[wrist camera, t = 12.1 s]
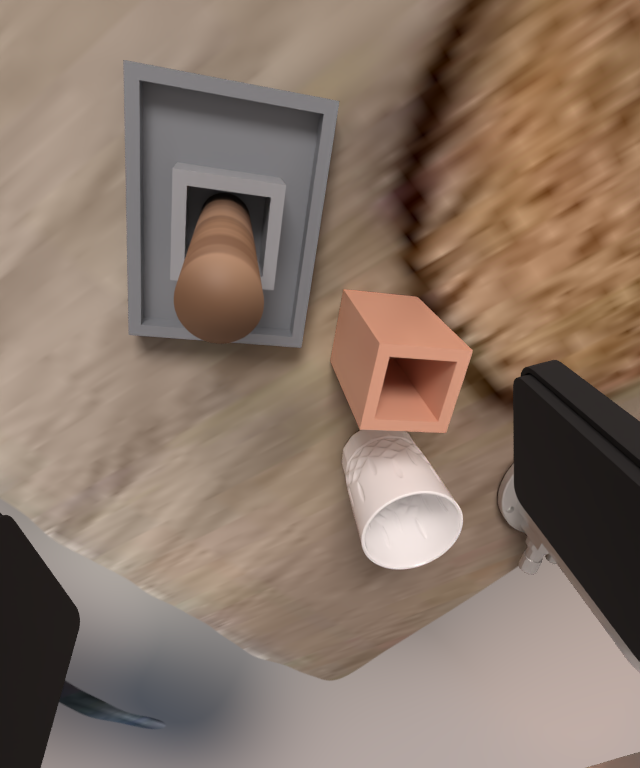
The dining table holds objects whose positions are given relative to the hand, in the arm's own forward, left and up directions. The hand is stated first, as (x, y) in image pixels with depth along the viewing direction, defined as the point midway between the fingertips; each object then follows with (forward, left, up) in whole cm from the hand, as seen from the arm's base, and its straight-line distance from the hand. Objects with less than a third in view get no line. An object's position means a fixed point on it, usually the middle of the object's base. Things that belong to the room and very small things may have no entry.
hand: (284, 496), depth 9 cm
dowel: (0, +1, -27) cm, 27 cm away
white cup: (-19, -14, -29) cm, 37 cm away
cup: (-7, -11, -28) cm, 31 cm away
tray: (0, +1, -28) cm, 28 cm away
